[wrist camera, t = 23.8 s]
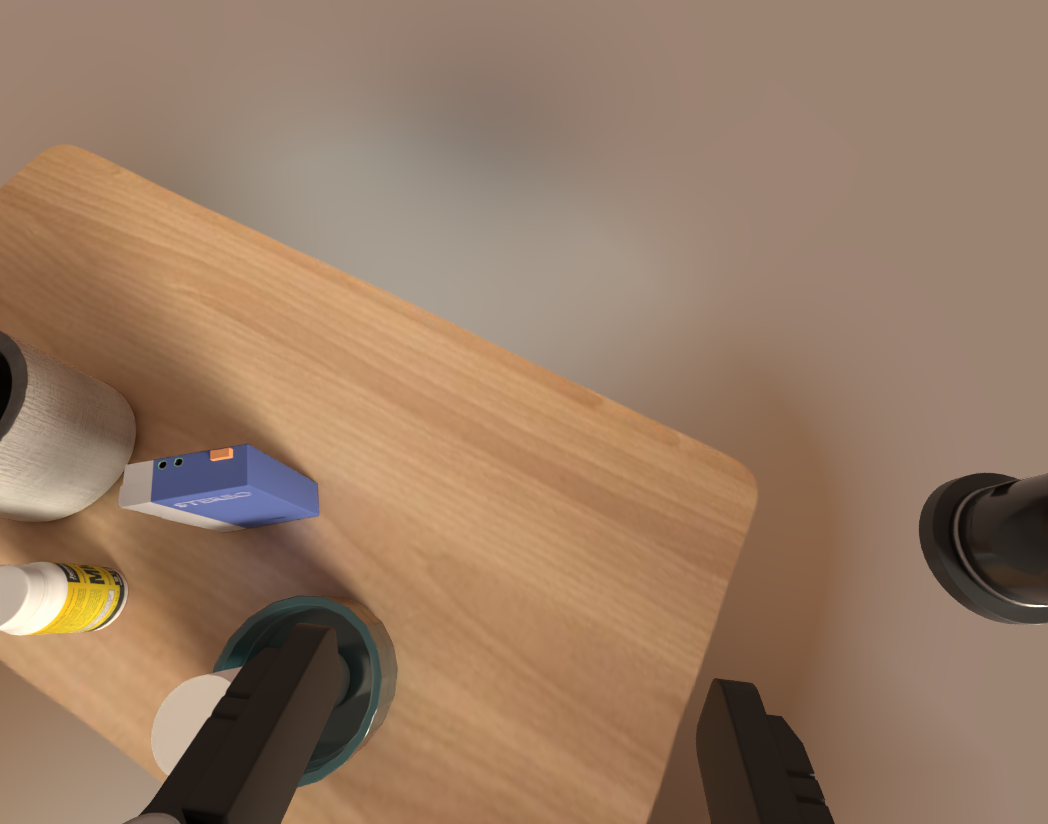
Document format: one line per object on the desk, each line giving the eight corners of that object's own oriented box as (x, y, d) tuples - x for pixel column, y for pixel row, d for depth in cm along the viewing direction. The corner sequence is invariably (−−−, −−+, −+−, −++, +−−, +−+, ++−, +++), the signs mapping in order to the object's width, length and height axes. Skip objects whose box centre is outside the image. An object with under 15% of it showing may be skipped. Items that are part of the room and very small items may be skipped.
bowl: (423, 630, 40) (409, 633, 35) (355, 793, 36) (329, 821, 31) (294, 574, 41) (265, 571, 37) (217, 726, 38) (172, 743, 33)
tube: (291, 720, 37) (148, 791, 23) (290, 655, 39) (153, 684, 25) (352, 708, 37) (246, 770, 23) (348, 643, 39) (245, 666, 25)
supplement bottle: (142, 577, 41) (51, 570, 33) (109, 639, 40) (6, 648, 32) (89, 559, 42) (-14, 549, 34) (55, 620, 40) (-61, 624, 32)
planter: (116, 527, 43) (-19, 503, 32) (-33, 520, 43) (-215, 493, 32) (160, 386, 47) (54, 323, 36) (24, 380, 47) (-120, 316, 37)
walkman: (318, 483, 44) (245, 441, 32) (319, 516, 43) (244, 484, 32) (222, 499, 43) (115, 462, 32) (222, 533, 42) (111, 507, 31)
